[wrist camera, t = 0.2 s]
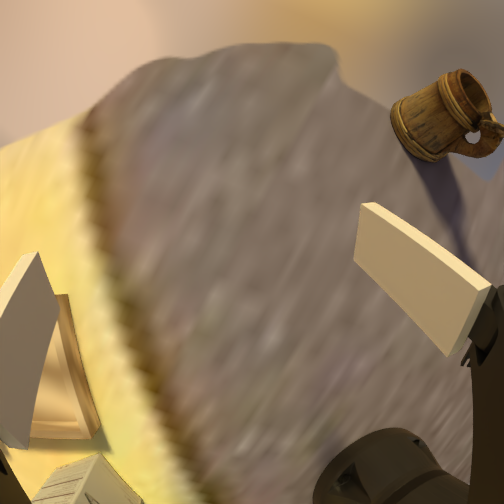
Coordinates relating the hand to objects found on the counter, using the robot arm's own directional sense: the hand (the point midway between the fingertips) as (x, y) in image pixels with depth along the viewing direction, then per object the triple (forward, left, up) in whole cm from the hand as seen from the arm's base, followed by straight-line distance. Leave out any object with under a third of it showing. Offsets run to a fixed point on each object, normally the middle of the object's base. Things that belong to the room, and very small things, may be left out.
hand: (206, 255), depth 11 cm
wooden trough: (-6, +19, -15) cm, 25 cm away
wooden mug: (+11, -29, -16) cm, 35 cm away
